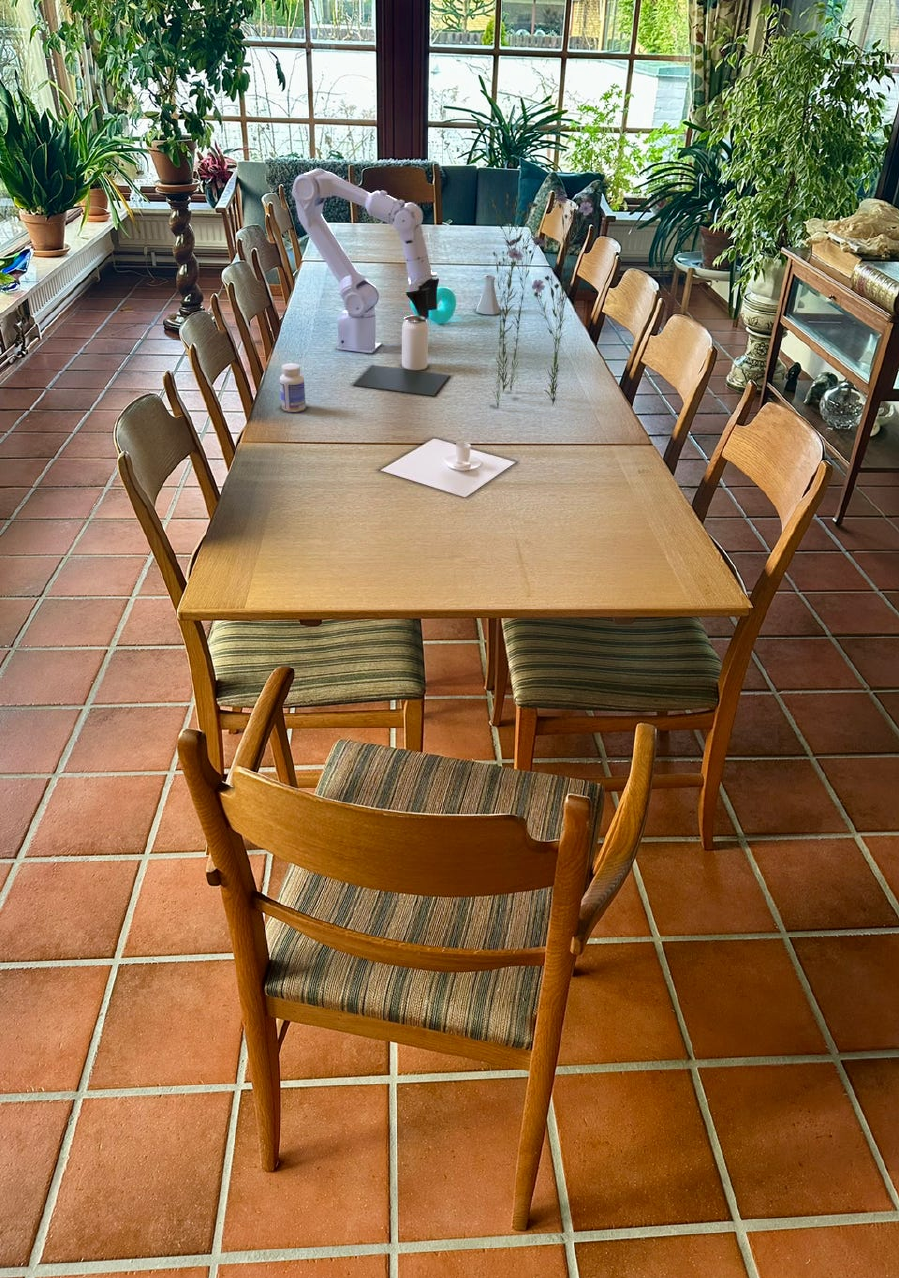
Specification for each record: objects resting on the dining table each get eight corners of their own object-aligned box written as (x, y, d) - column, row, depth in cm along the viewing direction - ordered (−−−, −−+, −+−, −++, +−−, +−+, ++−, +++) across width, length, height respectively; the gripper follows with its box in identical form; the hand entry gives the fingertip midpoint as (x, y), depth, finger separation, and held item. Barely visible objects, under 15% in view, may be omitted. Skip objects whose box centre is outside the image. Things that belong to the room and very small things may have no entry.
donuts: (430, 327, 275) (431, 290, 269) (407, 318, 281) (408, 282, 276) (457, 321, 281) (459, 285, 275) (434, 312, 287) (435, 277, 281)
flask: (472, 312, 288) (473, 277, 282) (480, 306, 294) (482, 271, 288) (495, 316, 286) (497, 281, 280) (503, 310, 292) (506, 275, 286)
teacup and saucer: (467, 477, 197) (468, 458, 195) (433, 466, 200) (434, 448, 198) (489, 462, 203) (490, 443, 201) (456, 452, 207) (457, 434, 204)
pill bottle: (309, 405, 225) (307, 363, 219) (299, 414, 220) (296, 371, 215) (288, 402, 226) (285, 360, 220) (277, 410, 222) (274, 367, 216)
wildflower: (463, 408, 227) (474, 198, 201) (496, 377, 244) (510, 180, 219) (557, 426, 220) (580, 211, 195) (584, 393, 238) (608, 191, 213)
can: (424, 372, 246) (425, 323, 239) (398, 369, 246) (399, 321, 240) (429, 363, 251) (431, 316, 244) (405, 361, 252) (405, 313, 245)
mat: (353, 385, 236) (353, 384, 236) (372, 366, 248) (372, 365, 247) (433, 396, 232) (434, 395, 232) (449, 376, 244) (449, 375, 244)
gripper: (423, 261, 235) (436, 318, 241) (439, 248, 246) (450, 303, 253) (396, 266, 237) (409, 323, 244) (413, 253, 249) (425, 307, 255)
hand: (428, 313), depth 249 cm, fingers open, 7 cm apart
